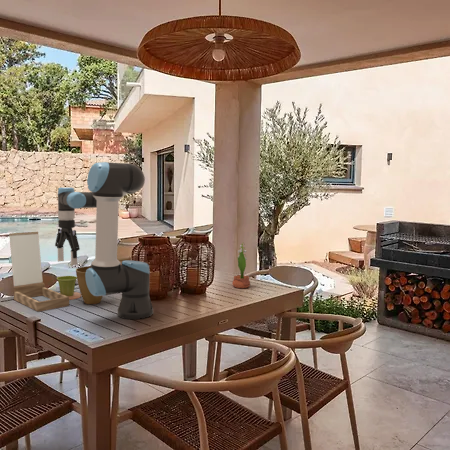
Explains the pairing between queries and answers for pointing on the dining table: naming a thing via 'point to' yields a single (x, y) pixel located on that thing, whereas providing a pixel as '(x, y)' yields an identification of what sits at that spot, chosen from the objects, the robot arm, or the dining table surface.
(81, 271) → the plant pot
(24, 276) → the frame lid
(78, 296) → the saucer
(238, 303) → the dining table surface
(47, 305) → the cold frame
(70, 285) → the plant pot
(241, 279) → the potted flower
